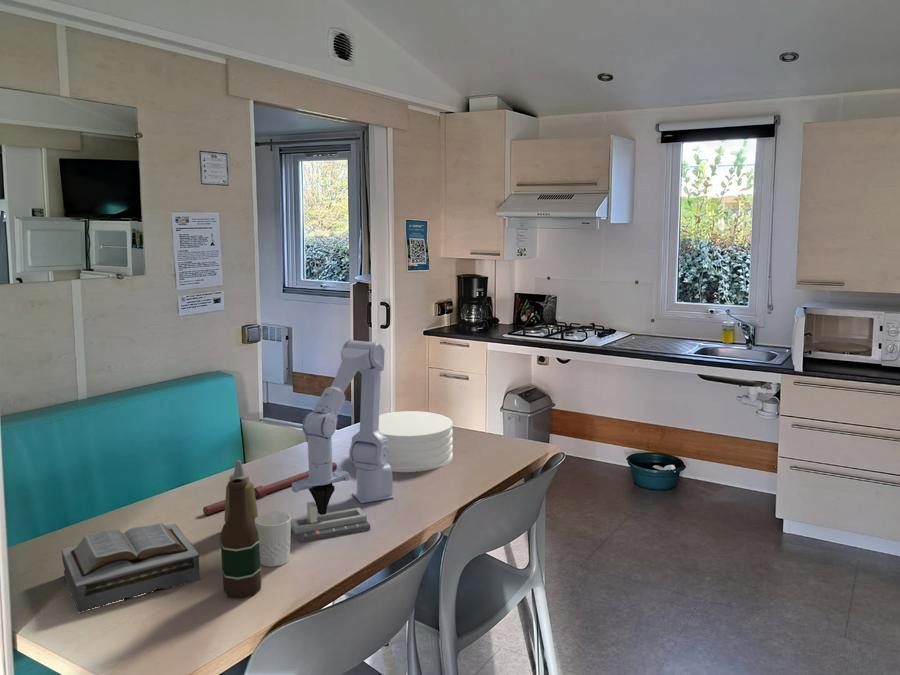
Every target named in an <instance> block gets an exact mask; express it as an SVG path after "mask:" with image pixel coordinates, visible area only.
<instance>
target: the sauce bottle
mask: <svg viewBox="0 0 900 675" xmlns="http://www.w3.org/2000/svg"><path fill="white" fill-rule="evenodd" d="M227 485H228V488H229V514H228V519H227V521H226V522H224V524H223V526H222V529H221V532H220V555H221V572H222V575H221V576H222V586H223V587H222V588H223V591H224V593H225V596H226V597H227V598H229V599H235V600H242V599H247V598H251V597H254V596H255V595H256V594H257V593H259V591H260V590H261V589H262V577H261V576H262V575H261V572H262V571H261V563H260V548H259V536H258V531H257V528H256V526H255V524H254V523H253V521H252V520H251V519H250V517H249V514H248V508H247V499H246V491H245V486H247V485H246V482H245V480H244V479H233V480H231V481H230V480H229V481H228V483H227Z"/></svg>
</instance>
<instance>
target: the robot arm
mask: <svg viewBox="0 0 900 675" xmlns="http://www.w3.org/2000/svg"><path fill="white" fill-rule="evenodd" d="M340 358H341V362H340V365H339V367H338V370H337V373H336V375H335V377H334V379H333V382H332V384H331V386H328V387H326V388H324V390H323V392H322V393H321V396H320V398H319V399H318V401H317V403H316V404H315V406H314V408H313V411H312V412H311V411H310V413H308V414H306V415H305V417H304V418H303V422H302V425H301V430H302V433H303V434H304V436H305V441H306V443H307V452H308V453H307V454H308V455H307V457H308V458H307V459H308V460H307V461H308V471H309V477H307V478H305V479H302V480H300V481H297V482H294V483H292V485H291V491H293V493H299V492H300V491H305V490H308V491H309V492H310V495H311V497H312V498H313V500H314V501H313V502H314V503H315V504H316V506H317V514H318V515H319V514H320V515H324V514H326V513H328V512H327V511H328V506H329V502H330V499H331V498H332V495H333V493H334V492H335V486H334V485H333V484H334V483H338V482H343V481H345V482H348V481H350V472H348V471H345V470H344V471H335V472H333V471H332V463H333V446H332V444H333V443H332V437H333V435H334V434H335V433H336V429H337V423H338V420H339V418H338V415H339V414H340V412H341V409H342V408H343V405H344V403H345V401H346V394H345V391H347V388H348V387H349V385H350V384H351V381H352V380H353V379H354V377H355V376H356V374H357V372H359V373H360V374H361V384H360V385H361V386H360V414H359V417H360V418H359V431H358V432H357V433H355V434H354V435H353V436H352V437H351V444H350V447H349V452H348V456H349V459H350V461H351V463H353V466H354V467H356V491H352V495H353V496H354V498H355V499H356V500H357V501H358V502H359V503H360V504H364V503H365V504H367V503H370V502H376V501H383V500H389V499H394V495H393V494H394V493H393V490H394V488H393V471H392V470H391V467H390V465H389V464H388V463H387V462H388V459H389V448H388V439H387V438H386V437H385V436H384V435H383V434H382V433H381V432H380V431H379V415H380V411H381V410H380V409H381V408H380V407H381V381H382V380H381V377H382V376H381V375H382V372H383V371H384V370H385V348H384V346H383V345H382V343H381V342H380V341H362V340H353V339H348V340H346V341H345V342H344V343H343V345H342V348H341V351H340Z"/></svg>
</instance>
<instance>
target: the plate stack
mask: <svg viewBox="0 0 900 675" xmlns="http://www.w3.org/2000/svg"><path fill="white" fill-rule="evenodd" d="M453 428H454V427H453V420H452V419H451V418H450V417H448V416H445V415H443V414H440V413H439V414H438V413H434V412H429V411H428V412H427V411H417V410H413V411H412V410H411V411H410V410H407V411H405V410H403V411H394V412H393V411H391V412H387V413H381V414H379V431H380V432H381V433H382V434H383V435H384V436H385V437H386V438H387V439H388V448H389V459H388V462H387V463H388V464H389V465H390V467H391V470H392V472H395V473H397V472H399V473H415V472H416V471H417V472H424V471H431V470H435V469H438V468H442V467H445V466H446V465H448V464H450V463H451V462H452V460H453V458H454V456H453V447H454V446H453Z"/></svg>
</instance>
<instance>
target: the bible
mask: <svg viewBox="0 0 900 675" xmlns="http://www.w3.org/2000/svg"><path fill="white" fill-rule="evenodd" d="M60 550H61V551H60V552H61V556H62V560H61V561H62V563H63V568H64V571H63V575H64V580H66V581H65V583H66V582H67V583H66V585H67V584H68V585H67V587H69V588H68V590H69V591H70V592H71V593H70V595H71V594H72V595H71V598H72V600H73V603H74V602H75V603H74V604H75V605H76V606H75V605H74V606H75V607H76V610H77V613H78V612H82V611H85V612H87V611H86V610H88V609H92V608H95V607H99V606H102V607H104V606H103V605H106V604H108V603H112V602H116V601H119V600H123V599H126V598H131V597H134V596H138V595H141V594H144V593H147V594H148V593H150V592H152V591H154V592H155V590H157V589H164V588H166V589H168V587H171V588H174V587H173V586H175V587H178V586H177V585H179V586H181V585H180V584H182V585H185V584H184V583H186V584H188V583H193V582H196V581H200V580H201V574H200V573H201V572H200V553H199V552H198V551H197V549H196V548H195V546H193V545H192V543H191V541H189V540H188V538H187V537H186V536H185V535H184V533H183V532H182V531H181V529H180V528H179V527H178V525H177V524H176V523H172V524H168V525H165V524H164V523H162V522H158V523H154V524H148V525H142V526H136V527H131V528H129V529H127V530H125V532H122V531H121V530H119V529H114V528H113V529H112V528H110V529H105V530H100V531H97V532H94V533H89V534H86V535H85V536H83V538H82V539H81V541H80V542H79V543H78V544H77V545H73V546H68V547H66V548H62V549H60ZM152 593H153V592H152ZM92 610H93V609H92ZM82 613H83V612H82Z"/></svg>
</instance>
